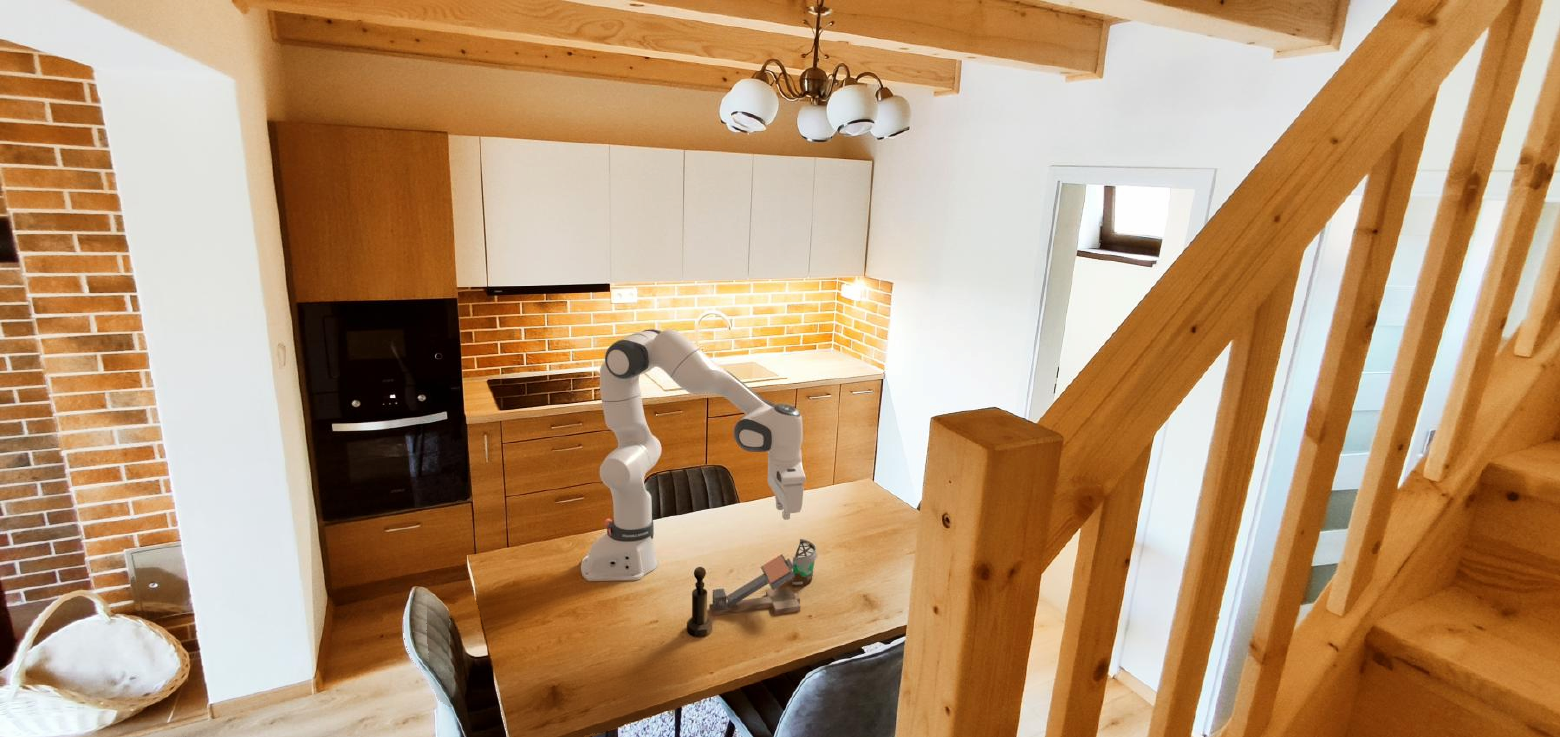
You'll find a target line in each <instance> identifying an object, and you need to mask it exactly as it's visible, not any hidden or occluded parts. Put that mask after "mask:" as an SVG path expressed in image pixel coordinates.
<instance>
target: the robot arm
mask: <svg viewBox="0 0 1560 737" xmlns="http://www.w3.org/2000/svg"><path fill="white" fill-rule="evenodd" d="M656 367H657V368H659V369H661V370H663V371H664V372H665V373H666V374H667V375H668V376H669V378H670V379H672V380H673V382H675V383H676V384H677V385H678V387H680V388H681V389H682V390H685V392H688V393H689V394H692V395H693V394H694V395H717V396H721V397H722V398H724V399H727V400H728V401H729V402H730V403H731V404H732V405H734V406H735V407H736V408H737V409H739V410H740V411H741V412H742V413H744V414H745V415H744V416H743V417H742V418H741V419H739V421H737V422H736V424H735V425H734V429H733V437H734V439H735V442H736V444H737V445H738V446H739V447H740V448H741V449H742V450H744V451H746V452H750V453H763V452H767V457H768V459H767V485H768V486H769V488H770V489H771V490H772V491H773V493H774V499H775V507H776V509H777V511H781V517H782V519H783V520H785V521H786V520H790V519H791V514H796V513H800V512H801V511H802V508H803V501H804V500H803V499H804V485H803V484H805V483H806V482H807V481H806V479H807V477H806V474H805V471H804V468H803V462H802V461H803V460H802V458H803V454H802V450H801V448H802V443H803V440H804V439H803V438H804V434H803V432H804V430H803V429H804V428H803V427H804V426H803V417H802V414H801V412H800V411H799V409H797V408H796V407H794V406H792V405H789V404H775V403H773V402H771V401H768V400H767V399H764V398H763V397H761V396H760V395H759V394H757V393H756V392H755V391H753V390H752V389H751V388H750V387H749V386H748V385H746V384H745V383H744V382H743V381H741V380H740V379H739V378H738V377H737V376H736V375H734V374H733V373H731V372H730V371H728V370H726V369H725V368H723V366H721V365H720V364H718V363H717V362H715V361H714V360H713V359H712V358H711V357H709V356H708V355H707V354H706V353H705V352H704V351H703V350H702V349H701V348H700V347H699V346H697V345H696V343H694V342H693V341H691V340H690V339H689V338H688V337H686V336H685V335H683V334H682V333H681V332H679V331H677V330H675V329H673V328H672V329H671V328H668V329H665V330H662V331H661V330H658V329H652V328H651V329H650V328H649V329H644V330H642V331H638V332H634V333H632V334H629V335H628V336H626V337H624V338H622V339H620V340H616V341H615V342H614V343H612V344H611V345H610V346H609V347H608V349H607V350H606V351H605V354H604V362H603V363H602V364H601V366H600V368H599V391H600V398H601V404H602V410H603V415H604V421H605V425H606V427H607V428H608V429H609V430H611V431H612V432H613V433H614V435H615V437H616V440H617V448H615V449H613V451H611V452H609V454H607V455H606V457H605V459H603V462H602V463H601V465H600V467H599V477H600V480H601V482H602V483H603V484H604V485H605V486H606V488H608V489H609V490H610V493H611V496H612V504H613V520H612V519H611V518H606V519H605V520H604V526H605V527H606V533H605V534H603V535H602V536H601V537H600V538H598V539H596V540H595V541H594V542H593V543H592V544H591V546H590V548H589V552H588V554H587V555H585V557H584V558H583V559H582V560H581V562H580V563H581V564H580V573H581V575H582V577H583V578H584V579H585V580H587V582H598V581H599V582H600V581H601V582H605V581H607V582H609V581H610V582H611V581H613V582H614V581H638V580H641V579H642V578H643V577H644V575H646V574H648V573H651V572H652V571H653V570H655V568H657V566H658V563H659V561H658V559H657V555H656V551H655V546H654V535H655V526H654V525H655V524H654V519H653V516H652V514H653V509H652V508H653V507H652V501H653V500H652V495H651V493H650V492H649V491H648V490H647V489H646V486H645V477H646V474H647V473H648V472H649V471H650V470H651V469H653V467H655V465H657V462H658V461H659V459H660V457H661V455H662V450H663V449H662V444H661V442H660V440H659V439H658V438H657V437H656V436H655V435H654V434H653V433H652V432H651V430H650V428H649V426H648V423H647V419H646V416H645V410H644V406H643V400H642V394H641V388H640V382H639V379H640V376H641V375H643V374H646V373H648V372H650V371H651V370H652V369H655V368H656Z"/></svg>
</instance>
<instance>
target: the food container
mask: <svg viewBox="0 0 1560 737" xmlns="http://www.w3.org/2000/svg"><path fill="white" fill-rule="evenodd" d="M817 558H818V551H817V547H816V546H815V544H814V543H813V542H812V541H810V540H807V539H804V538H800V539H799V544H798V546H797V549H796V553H795V555H794V556H793V557H792V564H793V566H794V568H793V569H792V572H793V573H794V575H795V577H793V578H792V582H791V583H792V587H794V588H798V587H799V588H802V587H805V586H808V585H811V583H812V581H813V574H814V566H815V561H816V559H817Z"/></svg>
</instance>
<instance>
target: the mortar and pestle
mask: <svg viewBox="0 0 1560 737" xmlns="http://www.w3.org/2000/svg"><path fill="white" fill-rule="evenodd" d="M706 575H707V571H706V569H705V568H704V567H703V566H697V567H695V569H694V571H693V576H694V577H695V579H696V582H695V589H693V590H692V593H691V603H692V604H691V618H690V617H689V619H688V620H687V622H686V632H687V634H688V635H689V636H691V637H693V638H704V637H707V636H708V635H710V634H711V633H712V632H713V621H712V619H711V618H710V617H709V616H708V591H707V589H705V582H704V578H705V577H706Z"/></svg>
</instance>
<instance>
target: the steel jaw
mask: <svg viewBox="0 0 1560 737" xmlns="http://www.w3.org/2000/svg"><path fill="white" fill-rule="evenodd" d="M760 568H761V571H762V574H761V575H758V576H757V577H755V578H754V579H753V580H751V581H750V582H748V583H746V584H744V585H743V586H741V587H739V588H738V589H736V590H735V591H733V592H731V593H729V594H728V595H726V596H727V602H728V603H729V605H730V606H733V605H734V604H736V603H737V602H739V601H741V600H745V599H747V597H749V596H750V595H752V594H754V593H756V592H757V591H758V590H760V589H762V588H763V587H766V586H767V585H769V586H770V589H772V590H774V589H776V588H780V586H781V585H783V584H785V583H786V582H788V581H790V580H793V577H795V575H794V573H793V568H794V566H793V562H792V561H791V559H790V558H786V559H785V556H784V555H783V553H782V554H780V555H777V557H774V558H773V559H771V560H769V561H768V562H766V563H764V564H763V565H761V567H760Z"/></svg>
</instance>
